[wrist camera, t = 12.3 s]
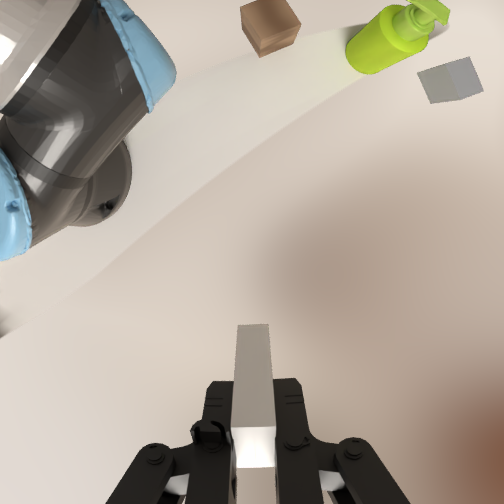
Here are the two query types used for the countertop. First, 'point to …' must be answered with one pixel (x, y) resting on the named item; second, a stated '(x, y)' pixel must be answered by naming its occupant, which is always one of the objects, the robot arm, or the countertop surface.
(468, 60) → the grey rectangular block
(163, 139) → the countertop surface
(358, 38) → the soap dispenser
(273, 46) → the brown wooden block
